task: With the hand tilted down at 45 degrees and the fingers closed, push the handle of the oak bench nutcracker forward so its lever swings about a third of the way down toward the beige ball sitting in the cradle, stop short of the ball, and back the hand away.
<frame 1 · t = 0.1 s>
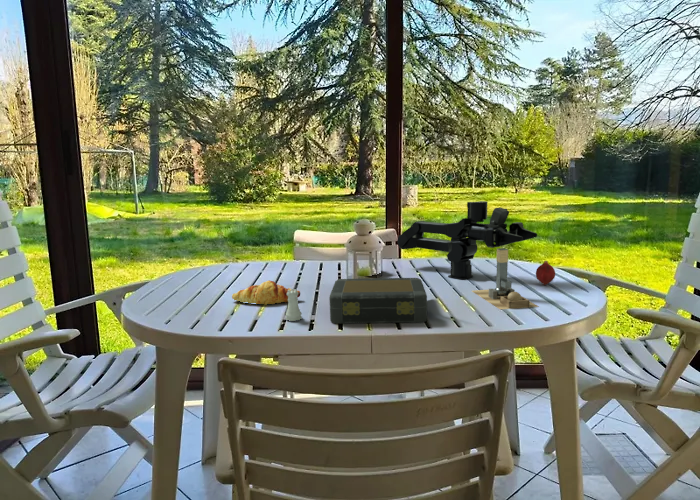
hand: (529, 236, 149), 17 cm above the table, tool horizontal, fingers open, 9 cm apart
cash box: (378, 313, 133), on the table
beige ball: (514, 304, 130), point 1 cm above the table, touching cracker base
rook chess piece: (293, 320, 129), on the table
onion: (545, 285, 156), on the table
lever: (504, 273, 135), point 9 cm above the table, hinge at 0.0°
croissant: (266, 302, 147), on the table
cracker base: (501, 302, 138), on the table
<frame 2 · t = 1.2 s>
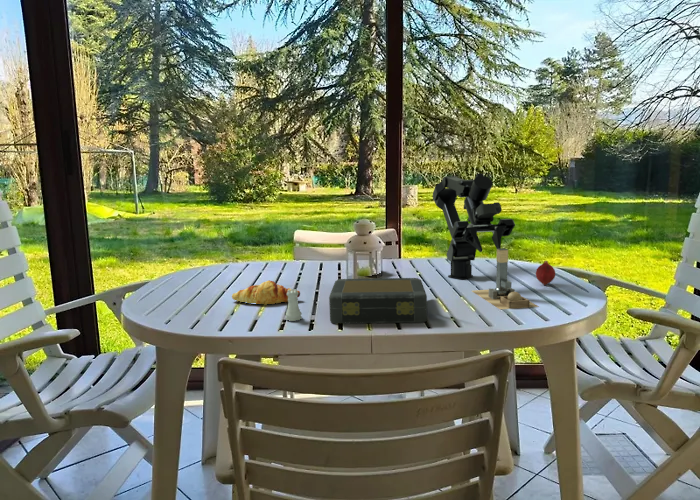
hand: (490, 250, 144), 14 cm above the table, tool tilted 45°, fingers open, 5 cm apart
nothing on the table moved.
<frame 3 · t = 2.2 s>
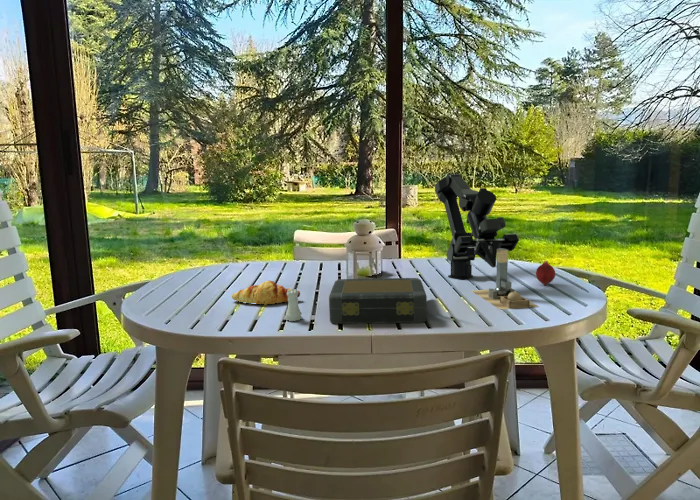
hand: (494, 266, 142), 9 cm above the table, tool tilted 45°, fingers closed
nothing on the table moved.
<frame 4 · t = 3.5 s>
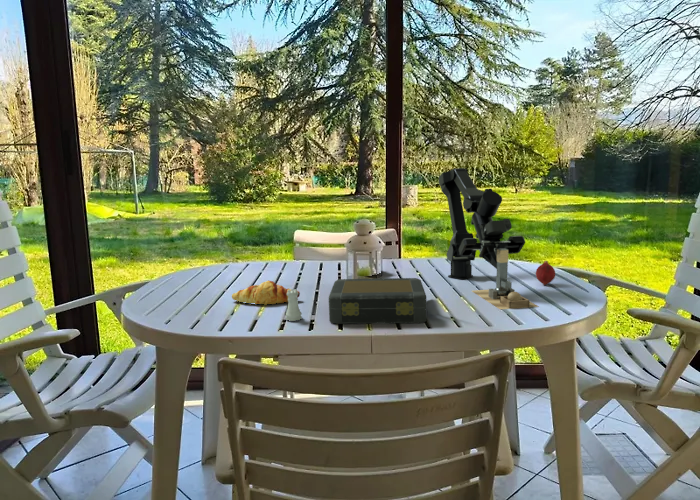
hand: (500, 269, 138), 9 cm above the table, tool tilted 45°, fingers closed, pressing on lever
lever: (504, 273, 135), point 9 cm above the table, hinge at 0.5°, touching gripper
everything else where it was.
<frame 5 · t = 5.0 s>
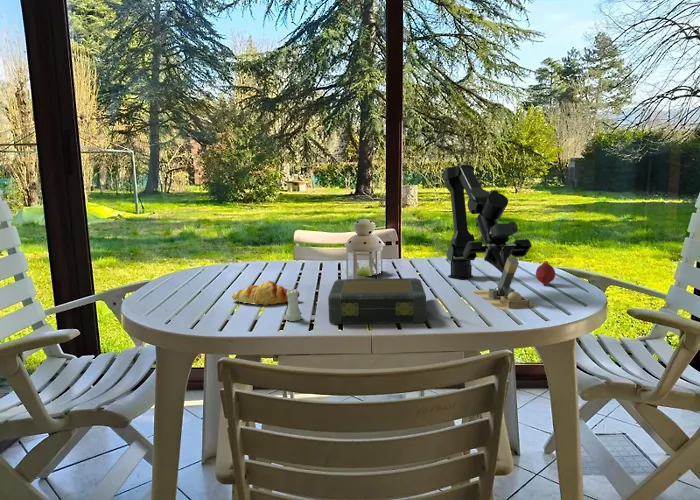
hand: (505, 273, 135), 9 cm above the table, tool tilted 45°, fingers closed, pressing on lever
lever: (508, 281, 133), point 7 cm above the table, hinge at 32.4°, touching gripper
everything else where it was.
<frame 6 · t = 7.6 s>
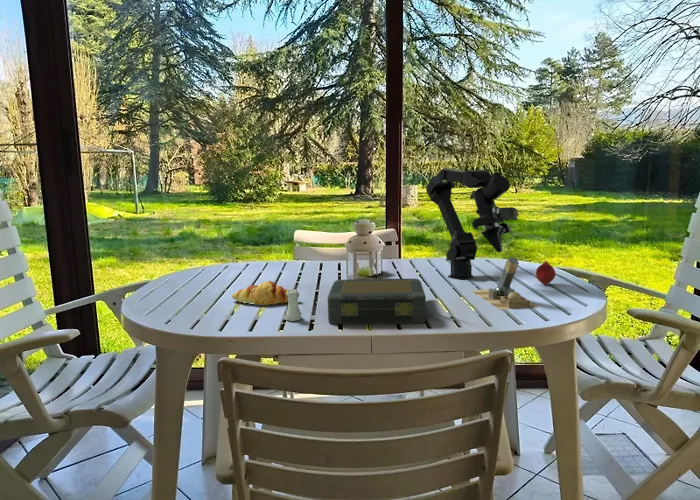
hand: (499, 252, 149), 12 cm above the table, tool tilted 30°, fingers closed
lever: (508, 282, 133), point 7 cm above the table, hinge at 32.5°
everything else where it was.
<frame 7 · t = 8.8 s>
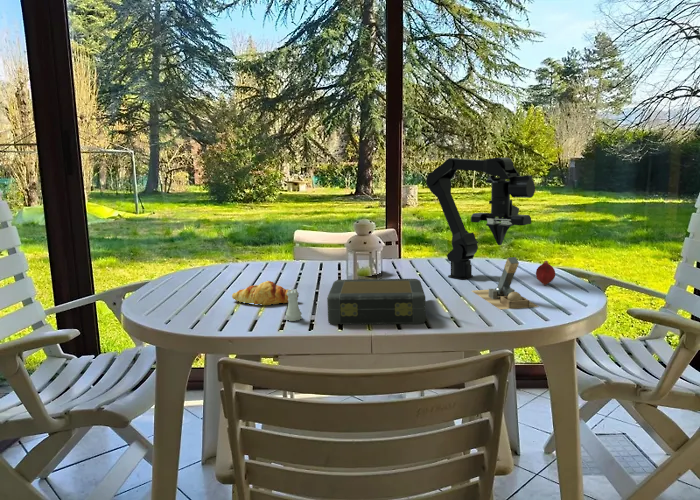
hand: (499, 245, 158), 13 cm above the table, tool pointing down, fingers closed
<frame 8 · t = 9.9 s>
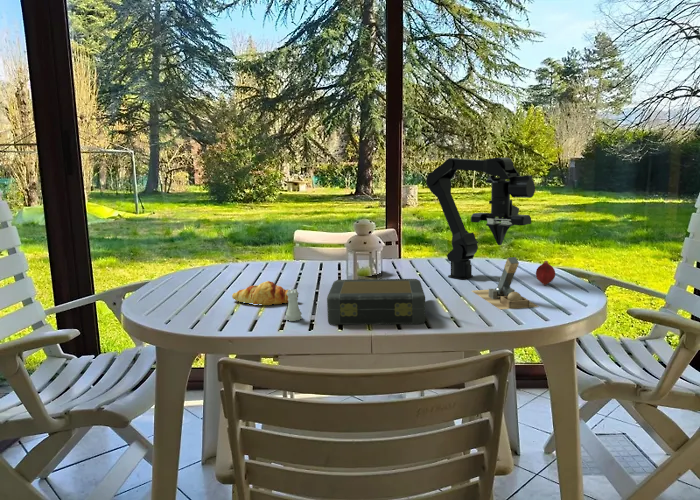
hand: (499, 245, 158), 13 cm above the table, tool pointing down, fingers closed
at the end: lever at +32° (first picture: +0°); beige ball moved 0.0 cm from its start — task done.
